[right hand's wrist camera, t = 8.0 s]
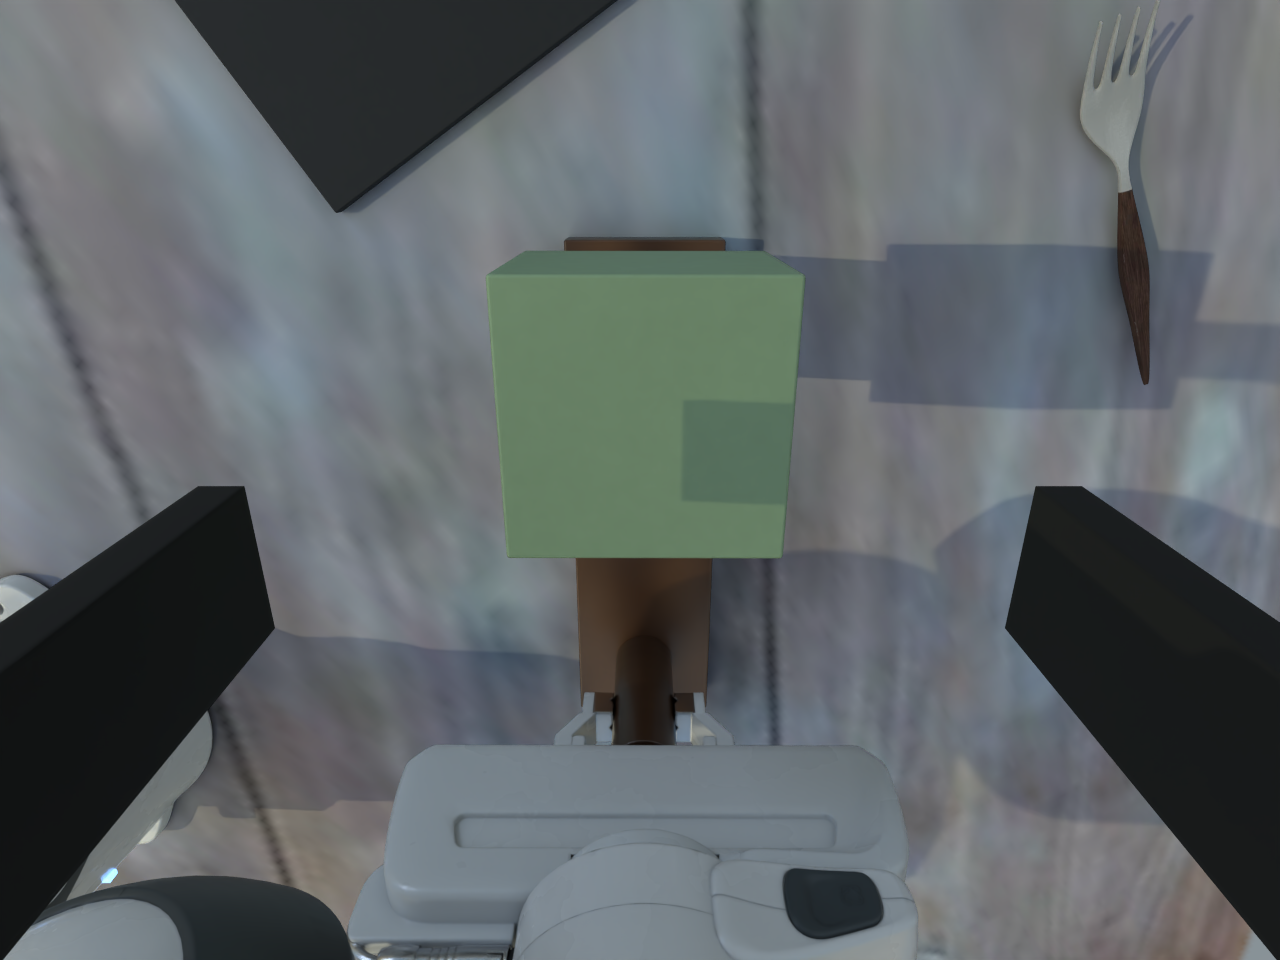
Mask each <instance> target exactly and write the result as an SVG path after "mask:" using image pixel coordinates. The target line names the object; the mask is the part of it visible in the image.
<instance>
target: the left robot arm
mask: <svg viewBox="0 0 1280 960" xmlns="http://www.w3.org/2000/svg"><path fill="white" fill-rule="evenodd" d="M47 590H48V588H46V587H45V586H43V585H42V584H40V583H39V582H37V581H35V580H33V579H31V578H29V577H26V576H22V575H10V576H7V577H4V578H1V579H0V622H2V621H3V620H5V619H6V618H7V617H9V616H10V615H12V614H13V613H15V612H16V611H18V610H19V609H21V608H22V607H23V606H25V605H26V604H28V603H29V602H31V601H32V600H34V599H35V598H37V597H38V596H39V595H41V594H42V593H44V592H45V591H47ZM613 708H614V693H607V692H585V693H584V701H583V710H582V713H579V714H578V715H577V716H575V717H574V718H573V719H572V720H571V721H570V722H569V723H568V724H567V725H566V726H564V727H563V728H562V729H561V730H560V731H559V732H558V733H557V734H556V735H555V739H554V745H433V746H430V747H429V748H427V749H425V750H424V751H422V752H421V753H419V754H418V755H417V756H415V757H414V758H412V759H411V760H410V761H409V762H408V763H407V764H406V766H405V768H404V771H403V774H402V777H401V780H400V783H399V786H398V789H397V793H396V796H395V800H394V804H393V808H392V812H391V817H390V822H389V827H388V832H387V838H386V844H385V853H384V864H383V865H382V866H380V867H379V868H378V869H377V870H375V871H374V872H373V873H372V874H371V876H370V877H369V878H368V879H367V881H366V882H365V884H364V886H363V887H362V890H361V892H360V895H359V897H358V900H357V903H356V905H355V908H354V910H353V913H352V915H351V918H350V921H349V924H348V929H347V935H346V933H345V931H344V929H343V927H342V925H341V923H340V921H339V920H338V918H337V917H336V916H335V914H334V913H333V912H332V911H331V910H330V909H329V908H328V907H327V906H326V905H325V904H324V903H323V902H321V901H320V900H319V899H317V898H315V897H314V896H312V895H310V894H308V893H306V892H304V891H301V890H299V889H296V888H293V887H289V886H285V885H280V884H276V883H271V882H267V881H260V880H254V879H247V878H239V877H229V876H185V877H172V878H161V879H153V880H146V881H141V882H136V883H131V884H125V885H120V886H115V887H111V888H107V889H103V890H99V891H96V892H94V891H95V890H96V889H97V888H98V887H99V886H100V885H101V884H102V883H110V882H111V881H112V880H113V878H114V877H115V876H116V874H117V873H118V872H117V870H116V869H115V868H116V867H117V866H118V865H119V864H120V863H121V862H122V861H123V860H124V858H125V857H126V856H127V855H128V854H129V853H130V852H131V851H132V850H133V848H134V847H135V846H136V845H137V844H146V843H149V842H152V841H153V840H154V839H155V838H156V837H157V836H158V835H159V834H160V833H161V832H162V831H163V829H164V828H165V827H166V826H167V824H168V822H169V819H170V816H171V813H172V809H173V805H174V802H175V801H176V799H177V798H178V797H179V796H180V795H182V794H183V793H184V792H185V791H186V790H187V789H188V788H189V787H190V786H191V785H192V784H193V783H194V782H195V781H196V780H197V779H198V778H199V777H200V775H201V774H202V772H203V771H204V769H205V767H206V765H207V763H208V760H209V757H210V754H211V750H212V738H213V736H212V726H211V720H210V716H209V713H208V710H207V712H206V713H205V714H204V715H203V717H202V718H201V719H200V720H199V721H198V723H197V724H196V725H195V726H194V728H193V729H192V730H191V731H190V732H189V734H188V735H187V736H186V737H185V739H184V740H183V741H182V742H181V743H180V745H179V746H178V747H177V748H176V750H175V751H174V752H173V753H172V754H171V756H170V757H169V758H168V759H167V761H166V762H165V763H164V764H163V765H162V767H161V768H160V769H159V770H158V772H157V773H156V774H155V775H154V776H153V778H152V779H151V780H150V781H149V783H148V784H147V785H146V786H145V787H144V789H143V790H142V791H141V792H140V793H139V795H138V796H137V797H136V798H135V800H134V801H133V802H132V803H131V804H130V806H129V807H128V808H127V809H126V811H125V812H124V813H123V814H122V815H121V817H120V818H119V819H118V820H117V822H116V823H115V824H114V825H113V826H112V828H111V829H110V830H109V831H108V833H107V834H106V835H105V836H104V837H103V839H102V840H101V841H100V842H99V844H98V845H97V846H96V847H95V848H94V850H93V851H92V852H91V853H90V855H89V856H88V857H87V858H86V859H85V861H84V862H83V863H82V864H81V866H80V867H79V868H78V869H77V870H76V872H75V873H74V874H73V875H72V877H71V878H70V879H69V880H68V881H67V883H66V884H65V885H64V886H63V887H62V889H61V890H60V891H59V892H58V894H57V895H56V896H55V897H54V898H53V900H52V901H51V902H50V903H49V905H48V906H47V907H46V908H45V909H44V911H43V912H42V913H41V914H40V916H39V917H38V918H37V919H36V920H35V922H34V923H33V924H32V925H31V927H30V928H29V929H28V930H27V931H26V933H25V934H24V935H23V936H22V938H21V939H20V940H19V941H18V942H17V944H16V945H15V946H14V947H13V949H12V950H11V951H10V952H9V953H8V955H7V956H6V957H5V958H4V960H916V957H917V945H918V912H917V908H916V905H915V902H914V899H913V897H912V895H911V893H910V891H909V889H908V887H907V885H906V884H905V877H906V870H907V864H908V858H909V842H908V836H907V831H906V826H905V822H904V817H903V813H902V810H901V806H900V802H899V799H898V796H897V793H896V790H895V787H894V784H893V781H892V779H891V776H890V774H889V772H888V769H887V767H886V766H885V764H884V763H883V762H882V761H881V760H880V759H878V758H877V757H875V756H874V755H872V754H871V753H869V752H868V751H866V750H864V749H863V748H861V747H858V746H853V745H840V746H783V745H735V744H734V738H733V735H732V734H731V733H730V732H729V731H728V730H727V729H725V728H724V727H723V726H722V725H721V724H720V723H719V722H718V721H717V720H716V719H714V718H713V717H712V716H711V715H710V714H709V713H706V710H705V702H704V694H703V692H694V693H674V715H675V727H676V742H691V743H692V745H595V744H596V742H612V726H613V713H614V711H613ZM373 954H378V956H376V955H373Z"/></svg>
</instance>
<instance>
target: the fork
mask: <svg viewBox="0 0 1280 960" xmlns="http://www.w3.org/2000/svg"><path fill="white" fill-rule="evenodd" d="M1159 4H1160V0H1156V2H1155V5H1154V8H1153V11H1152V15H1151V18H1150V21H1149V24H1148V28H1147V31H1146V34H1145V38H1144V41H1143V45H1142V48H1141V52H1140V56H1139V60H1138V63H1137V67H1136V70H1135V72H1134V74H1133V75H1131V76H1130V75H1129V66H1130V59H1131V54H1132V48H1133V43H1134V37H1135V32H1136V27H1137V22H1138V18H1139V14H1140V9H1141V8H1140V7H1139V6H1138V7H1137V10H1136V13H1135V16H1134V19H1133V22H1132V26H1131V29H1130V33H1129V36H1128V40H1127V43H1126V47H1125V51H1124V55H1123V59H1122V63H1121V67H1120V70H1119V74H1118V77H1117V79H1116V81H1115V82H1112V81H1111V74H1112V66H1113V60H1114V53H1115V47H1116V41H1117V36H1118V31H1119V26H1120V21H1121V14H1119V15H1118V17H1117V20H1116V24H1115V27H1114V31H1113V34H1112V38H1111V42H1110V46H1109V49H1108V53H1107V57H1106V61H1105V66H1104V70H1103V74H1102V78H1101V81H1100V84H1099V86H1098V88H1096V89H1095V88H1094V73H1095V66H1096V59H1097V52H1098V46H1099V40H1100V34H1101V29H1102V25H1103V21H1100V22H1099V24H1098V28H1097V32H1096V36H1095V40H1094V44H1093V47H1092V52H1091V56H1090V60H1089V64H1088V68H1087V73H1086V78H1085V83H1084V88H1083V93H1082V99H1081V105H1080V121H1081V125H1082V127H1083V130H1084V132H1085V133H1086V135H1087V136H1088V138H1089V139H1090V140H1091V141H1092V142H1093V143H1094V144H1095V145H1096V146H1097V147H1098V148H1099V149H1100V150H1102V151H1103V152H1104V153H1105V154H1106V155H1107V156H1108V157H1109V158H1110V159H1111V161H1112V162H1113V163H1114V165H1115V167H1116V170H1117V175H1118V234H1117V254H1118V271H1119V278H1120V284H1121V288H1122V293H1123V297H1124V301H1125V305H1126V309H1127V313H1128V317H1129V322H1130V326H1131V331H1132V336H1133V341H1134V346H1135V351H1136V356H1137V361H1138V365H1139V370H1140V374H1141V378H1142V381H1143V384H1144V385H1146V384H1148V382H1149V362H1150V361H1149V293H1150V284H1149V265H1148V258H1147V252H1146V247H1145V242H1144V238H1143V234H1142V229H1141V225H1140V221H1139V217H1138V212H1137V208H1136V204H1135V200H1134V195H1133V191H1132V187H1131V182H1130V176H1129V167H1128V164H1129V155H1130V150H1131V146H1132V142H1133V139H1134V135H1135V132H1136V129H1137V125H1138V122H1139V118H1140V114H1141V110H1142V104H1143V98H1144V89H1145V74H1146V65H1147V59H1148V53H1149V48H1150V43H1151V38H1152V33H1153V28H1154V24H1155V19H1156V15H1157V10H1158V7H1159Z"/></svg>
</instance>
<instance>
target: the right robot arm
mask: <svg viewBox="0 0 1280 960" xmlns="http://www.w3.org/2000/svg"><path fill="white" fill-rule="evenodd" d="M274 629H275V626H274V622H273V617H272V612H271V608H270V603H269V598H268V594H267V589H266V584H265V580H264V575H263V571H262V566H261V561H260V557H259V552H258V547H257V543H256V538H255V533H254V529H253V524H252V520H251V515H250V510H249V506H248V501H247V496H246V492H245V487H244V486H198V487H196V488H195V489H194V490H192V491H191V492H189V493H188V494H186V495H185V496H183V497H182V498H180V499H179V500H178V501H176V502H175V503H173V504H172V505H170V506H169V507H167V508H166V509H164V510H163V511H162V512H160V513H159V514H157V515H156V516H154V517H153V518H151V519H150V520H148V521H147V522H146V523H144V524H143V525H141V526H140V527H138V528H137V529H135V530H134V531H133V532H131V533H130V534H128V535H127V536H125V537H124V538H122V539H121V540H119V541H118V542H117V543H115V544H114V545H112V546H111V547H109V548H108V549H106V550H105V551H103V552H102V553H101V554H99V555H98V556H96V557H95V558H93V559H92V560H90V561H89V562H87V563H86V564H85V565H83V566H82V567H80V568H79V569H77V570H76V571H74V572H73V573H71V574H70V575H69V576H67V577H66V578H64V579H63V580H61V581H60V582H58V583H57V584H55V585H54V586H53V587H51V588H50V589H48V590H47V591H45V592H44V593H42V594H41V595H39V596H38V597H37V598H35V599H34V600H32V601H31V602H29V603H28V604H26V605H25V606H23V607H22V608H21V609H19V610H18V611H16V612H15V613H13V614H12V615H10V616H9V617H7V618H6V619H5V620H3V621H2V622H0V960H4V958H5V957H6V956H7V955H8V953H9V952H10V951H11V950H12V949H13V947H14V946H15V945H16V944H17V942H18V941H19V940H20V939H21V938H22V936H23V935H24V934H25V933H26V931H27V930H28V929H29V928H30V927H31V925H32V924H33V923H34V922H35V920H36V919H37V918H38V917H39V916H40V914H41V913H42V912H43V911H44V909H45V908H46V907H47V906H48V905H49V903H50V902H51V901H52V900H53V898H54V897H55V896H56V895H57V894H58V892H59V891H60V890H61V889H62V887H63V886H64V885H65V884H66V883H67V881H68V880H69V879H70V878H71V877H72V875H73V874H74V873H75V872H76V870H77V869H78V868H79V867H80V866H81V864H82V863H83V862H84V861H85V859H86V858H87V857H88V856H89V855H90V853H91V852H92V851H93V850H94V848H95V847H96V846H97V845H98V844H99V842H100V841H101V840H102V839H103V837H104V836H105V835H106V834H107V833H108V831H109V830H110V829H111V828H112V826H113V825H114V824H115V823H116V822H117V820H118V819H119V818H120V817H121V815H122V814H123V813H124V812H125V811H126V809H127V808H128V807H129V806H130V804H131V803H132V802H133V801H134V800H135V798H136V797H137V796H138V795H139V793H140V792H141V791H142V790H143V789H144V787H145V786H146V785H147V784H148V783H149V781H150V780H151V779H152V778H153V776H154V775H155V774H156V773H157V772H158V770H159V769H160V768H161V767H162V765H163V764H164V763H165V762H166V761H167V759H168V758H169V757H170V756H171V754H172V753H173V752H174V751H175V750H176V748H177V747H178V746H179V745H180V743H181V742H182V741H183V740H184V739H185V737H186V736H187V735H188V734H189V732H190V731H191V730H192V729H193V728H194V726H195V725H196V724H197V723H198V721H199V720H200V719H201V718H202V717H203V715H204V714H205V713H206V712H207V710H208V709H209V708H210V707H211V706H212V704H213V703H214V702H215V701H216V699H217V698H218V697H219V696H220V695H221V693H222V692H223V691H224V690H225V688H226V687H227V686H228V685H229V684H230V682H231V681H232V680H233V679H234V678H235V676H236V675H237V674H238V673H239V671H240V670H241V669H242V668H243V667H244V665H245V664H246V663H247V662H248V660H249V659H250V658H251V657H252V656H253V654H254V653H255V652H256V651H257V649H258V648H259V647H260V646H261V645H262V643H263V642H264V641H265V640H266V638H267V637H268V636H269V635H270V634H271V632H272V631H273V630H274ZM1005 629H1006V630H1007V631H1008V632H1009V634H1010V635H1011V636H1012V637H1013V638H1014V640H1015V641H1016V642H1017V643H1018V645H1019V646H1020V647H1021V648H1022V649H1023V651H1024V652H1025V653H1026V654H1027V656H1028V657H1029V658H1030V659H1031V660H1032V662H1033V663H1034V664H1035V665H1036V667H1037V668H1038V669H1039V670H1040V671H1041V673H1042V674H1043V675H1044V676H1045V678H1046V679H1047V680H1048V681H1049V682H1050V684H1051V685H1052V686H1053V687H1054V688H1055V690H1056V691H1057V692H1058V693H1059V695H1060V696H1061V697H1062V698H1063V699H1064V701H1065V702H1066V703H1067V704H1068V706H1069V707H1070V708H1071V709H1072V710H1073V712H1074V713H1075V714H1076V715H1077V717H1078V718H1079V719H1080V720H1081V721H1082V723H1083V724H1084V725H1085V726H1086V728H1087V729H1088V730H1089V731H1090V732H1091V734H1092V735H1093V736H1094V737H1095V739H1096V740H1097V741H1098V742H1099V743H1100V745H1101V746H1102V747H1103V748H1104V750H1105V751H1106V752H1107V753H1108V754H1109V756H1110V757H1111V758H1112V759H1113V761H1114V762H1115V763H1116V764H1117V765H1118V767H1119V768H1120V769H1121V770H1122V772H1123V773H1124V774H1125V775H1126V776H1127V778H1128V779H1129V780H1130V781H1131V783H1132V784H1133V785H1134V786H1135V787H1136V789H1137V790H1138V791H1139V792H1140V793H1141V795H1142V796H1143V797H1144V798H1145V800H1146V801H1147V802H1148V803H1149V804H1150V806H1151V807H1152V808H1153V809H1154V811H1155V812H1156V813H1157V814H1158V815H1159V817H1160V818H1161V819H1162V820H1163V822H1164V823H1165V824H1166V825H1167V826H1168V828H1169V829H1170V830H1171V831H1172V833H1173V834H1174V835H1175V836H1176V837H1177V839H1178V840H1179V841H1180V842H1181V844H1182V845H1183V846H1184V847H1185V848H1186V850H1187V851H1188V852H1189V853H1190V855H1191V856H1192V857H1193V858H1194V859H1195V861H1196V862H1197V863H1198V864H1199V866H1200V867H1201V868H1202V869H1203V870H1204V872H1205V873H1206V874H1207V875H1208V877H1209V878H1210V879H1211V880H1212V881H1213V883H1214V884H1215V885H1216V886H1217V887H1218V889H1219V890H1220V891H1221V892H1222V894H1223V895H1224V896H1225V897H1226V898H1227V900H1228V901H1229V902H1230V903H1231V905H1232V906H1233V907H1234V908H1235V909H1236V911H1237V912H1238V913H1239V914H1240V916H1241V917H1242V918H1243V919H1244V920H1245V922H1246V923H1247V924H1248V925H1249V927H1250V928H1251V929H1252V930H1253V931H1254V933H1255V934H1256V935H1257V936H1258V938H1259V939H1260V940H1261V941H1262V942H1263V944H1264V945H1265V946H1266V947H1267V949H1268V950H1269V951H1270V952H1271V953H1272V955H1273V956H1274V957H1275V958H1276V959H1277V960H1280V622H1278V621H1277V620H1275V619H1274V618H1273V617H1271V616H1270V615H1268V614H1267V613H1265V612H1264V611H1262V610H1261V609H1259V608H1258V607H1257V606H1255V605H1254V604H1252V603H1251V602H1249V601H1248V600H1246V599H1245V598H1243V597H1242V596H1241V595H1239V594H1238V593H1236V592H1235V591H1233V590H1232V589H1230V588H1229V587H1227V586H1226V585H1225V584H1223V583H1222V582H1220V581H1219V580H1217V579H1216V578H1214V577H1213V576H1211V575H1210V574H1209V573H1207V572H1206V571H1204V570H1203V569H1201V568H1200V567H1198V566H1197V565H1195V564H1194V563H1193V562H1191V561H1190V560H1188V559H1187V558H1185V557H1184V556H1182V555H1181V554H1179V553H1178V552H1177V551H1175V550H1174V549H1172V548H1171V547H1169V546H1168V545H1166V544H1165V543H1163V542H1162V541H1161V540H1159V539H1158V538H1156V537H1155V536H1153V535H1152V534H1150V533H1149V532H1147V531H1146V530H1145V529H1143V528H1142V527H1140V526H1139V525H1137V524H1136V523H1134V522H1133V521H1131V520H1130V519H1129V518H1127V517H1126V516H1124V515H1123V514H1121V513H1120V512H1118V511H1117V510H1116V509H1114V508H1113V507H1111V506H1110V505H1108V504H1107V503H1105V502H1104V501H1102V500H1101V499H1100V498H1098V497H1097V496H1095V495H1094V494H1092V493H1091V492H1089V491H1088V490H1086V489H1085V488H1084V487H1082V486H1036V487H1035V492H1034V496H1033V501H1032V506H1031V510H1030V515H1029V520H1028V524H1027V529H1026V533H1025V538H1024V543H1023V547H1022V552H1021V557H1020V561H1019V566H1018V571H1017V575H1016V580H1015V584H1014V589H1013V594H1012V598H1011V603H1010V608H1009V612H1008V617H1007V622H1006V626H1005Z"/></svg>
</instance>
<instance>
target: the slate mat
mask: <svg viewBox="0 0 1280 960" xmlns="http://www.w3.org/2000/svg"><path fill="white" fill-rule="evenodd" d="M175 1H176V2H177V4H178V5H179V6H180V8H181V9H182V10H183V12H184V13H185V14H186V16H187V17H188V18H189V20H190V21H191V22H192V24H193V25H194V26H195V28H196V29H197V30H198V31H199V33H200V34H201V35H202V37H203V38H204V39H205V41H206V42H207V43H208V45H209V46H210V47H211V49H212V50H213V51H214V53H215V54H216V55H217V57H218V58H219V59H220V61H221V62H222V63H223V65H224V66H225V67H226V68H227V70H228V71H229V72H230V74H231V75H232V76H233V78H234V79H235V80H236V82H237V83H238V84H239V86H240V87H241V88H242V90H243V91H244V92H245V94H246V95H247V96H248V98H249V99H250V100H251V101H252V103H253V104H254V105H255V107H256V108H257V109H258V111H259V112H260V113H261V115H262V116H263V117H264V119H265V120H266V121H267V123H268V124H269V125H270V127H271V128H272V129H273V131H274V132H275V133H276V134H277V136H278V137H279V138H280V140H281V141H282V142H283V144H284V145H285V146H286V148H287V149H288V150H289V152H290V153H291V154H292V156H293V157H294V158H295V160H296V161H297V162H298V164H299V165H300V166H301V168H302V169H303V170H304V171H305V173H306V174H307V175H308V177H309V178H310V179H311V181H312V182H313V183H314V185H315V186H316V187H317V189H318V190H319V191H320V193H321V194H322V195H323V197H324V198H325V199H326V201H327V202H328V203H329V204H330V206H331V207H332V208H333V210H334V211H335V212H336V213H338V212H342V211H343V210H345V209H346V208H347V207H348V206H350V205H351V204H352V203H354V202H355V201H356V200H358V199H359V198H360V197H362V196H363V195H364V194H365V193H367V192H368V191H369V190H371V189H372V188H373V187H375V186H376V185H377V184H378V183H380V182H381V181H382V180H384V179H385V178H386V177H388V176H389V175H390V174H391V173H393V172H394V171H395V170H397V169H398V168H399V167H401V166H402V165H403V164H405V163H406V162H407V161H408V160H410V159H411V158H412V157H414V156H415V155H416V154H418V153H419V152H420V151H421V150H423V149H424V148H425V147H427V146H428V145H429V144H431V143H432V142H433V141H435V140H436V139H437V138H438V137H440V136H441V135H442V134H444V133H445V132H446V131H448V130H449V129H450V128H451V127H453V126H454V125H455V124H457V123H458V122H459V121H461V120H462V119H463V118H464V117H466V116H467V115H468V114H470V113H471V112H472V111H474V110H475V109H476V108H478V107H479V106H480V105H481V104H483V103H484V102H485V101H487V100H488V99H489V98H491V97H492V96H493V95H494V94H496V93H497V92H498V91H500V90H501V89H502V88H504V87H505V86H506V85H507V84H509V83H510V82H511V81H513V80H514V79H515V78H517V77H518V76H519V75H521V74H522V73H523V72H524V71H526V70H527V69H528V68H530V67H531V66H532V65H534V64H535V63H536V62H537V61H539V60H540V59H541V58H543V57H544V56H545V55H547V54H548V53H549V52H550V51H552V50H553V49H554V48H556V47H557V46H558V45H560V44H561V43H562V42H564V41H565V40H566V39H567V38H569V37H570V36H571V35H573V34H574V33H575V32H577V31H578V30H579V29H580V28H582V27H583V26H584V25H586V24H587V23H588V22H590V21H591V20H592V19H593V18H595V17H596V16H597V15H599V14H600V13H601V12H603V11H604V10H605V9H607V8H608V7H609V6H610V5H612V4H613V3H614V2H616V1H617V0H175Z"/></svg>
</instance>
